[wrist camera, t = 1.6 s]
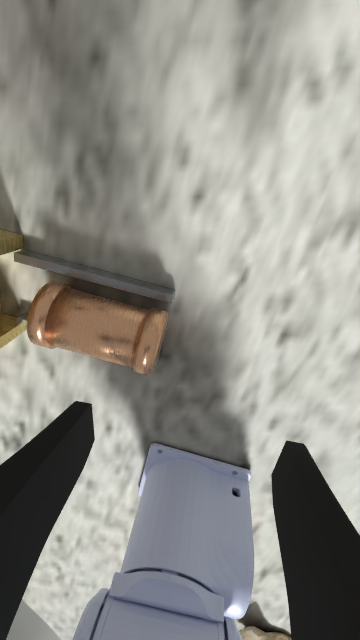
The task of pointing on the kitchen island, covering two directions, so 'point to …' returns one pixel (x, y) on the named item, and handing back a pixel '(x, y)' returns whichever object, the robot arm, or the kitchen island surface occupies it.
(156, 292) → the rails
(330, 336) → the kitchen island surface
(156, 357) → the coupling
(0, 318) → the valve
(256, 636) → the rock
